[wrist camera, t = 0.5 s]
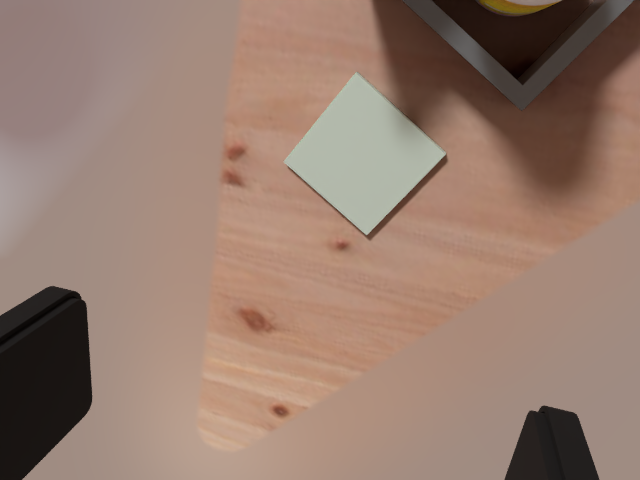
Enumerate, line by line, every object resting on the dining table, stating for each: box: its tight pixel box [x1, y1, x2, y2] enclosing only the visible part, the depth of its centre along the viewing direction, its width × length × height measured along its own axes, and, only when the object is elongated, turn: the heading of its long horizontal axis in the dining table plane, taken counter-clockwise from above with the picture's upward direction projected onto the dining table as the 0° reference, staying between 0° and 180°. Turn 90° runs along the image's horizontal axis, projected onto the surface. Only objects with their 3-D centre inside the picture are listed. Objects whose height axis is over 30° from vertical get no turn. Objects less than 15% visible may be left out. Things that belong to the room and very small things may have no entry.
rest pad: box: [284, 72, 446, 235], centre depth 36 cm, size 8×8×1 cm
